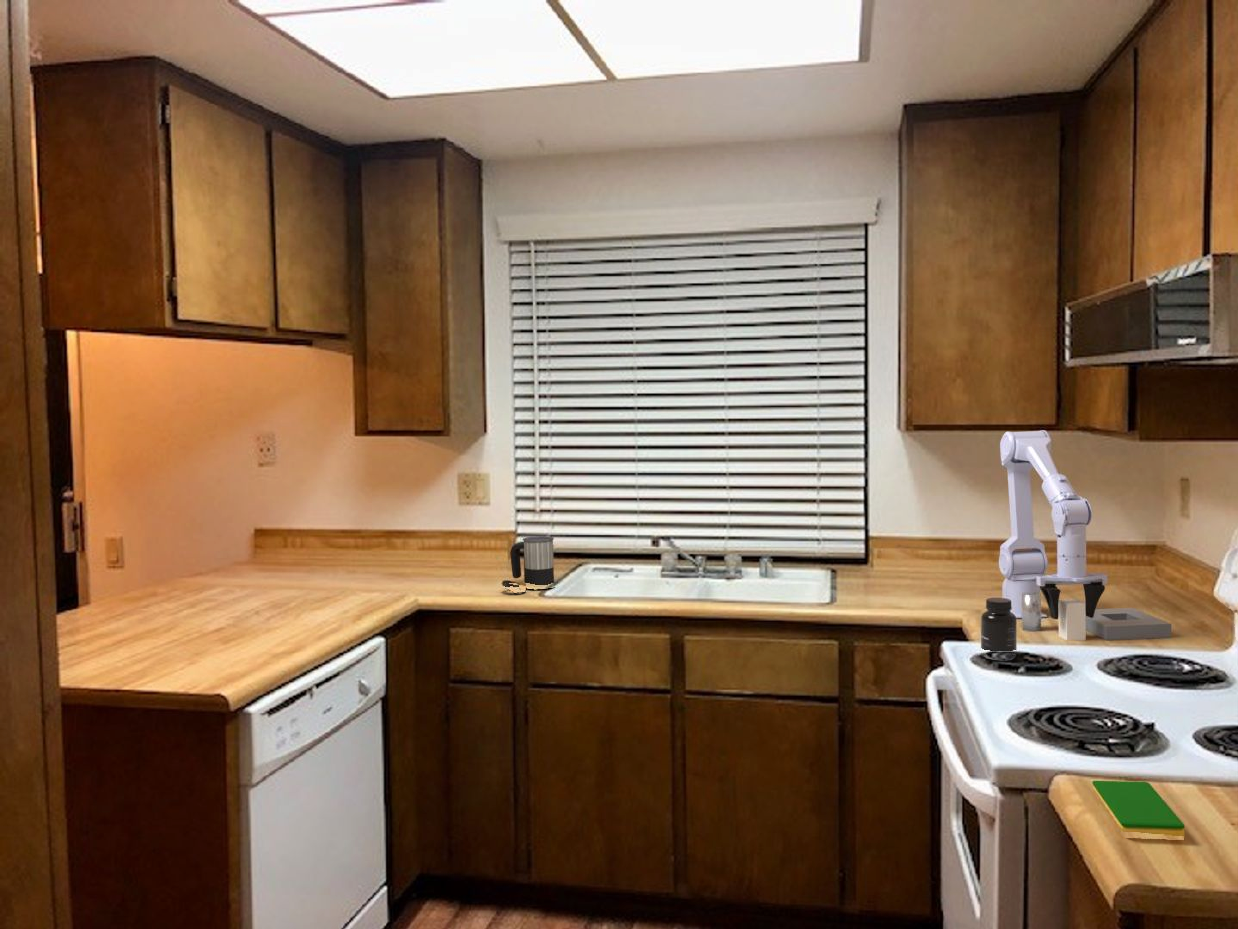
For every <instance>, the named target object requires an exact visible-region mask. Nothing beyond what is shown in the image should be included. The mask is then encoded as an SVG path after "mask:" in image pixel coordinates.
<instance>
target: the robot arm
mask: <svg viewBox="0 0 1238 929" xmlns="http://www.w3.org/2000/svg"><path fill="white" fill-rule="evenodd" d="M999 450H1000V461H1001V466H1002V467H1004V468H1006V469H1007V471H1006V472H1007V482H1008V483H1007V487H1008V502H1009V520H1010V533H1011V534H1010V535H1011V536H1010V537H1009V538H1008V539H1007V540H1006V541H1004V542H1003V543H1002V544H1001V545H1000V547H999V557H998V567H999V571H1000V573H1001V574H1002V575H1003V577H1004V578H1005V579H1004V580H1003V582H1002V585H1001V586H1002V587H1001V588H1002V589H1001V591H1002V592H1001V595H1002V597H1001V598H1006V599H1010V600H1011V607H1012V610H1010V612H1011V613H1013V614H1014V615H1015V616H1016V619H1022V593H1028V592H1031V593H1039V594H1041V593H1042V595H1043V598H1045V601H1046V603H1047V606H1048V607H1047V608H1048V610H1049V615H1050V618H1052V619H1053V620H1059V600H1060V595H1061V589H1059V588H1058V586H1064V585H1068V586H1069V585H1082V586H1083V591H1084V600H1085V602H1084V603H1085V612H1086V616H1087V617H1090V618H1093V617H1094V613H1095V609H1097V605H1098V603H1099V600H1100V598H1101V596H1102V595H1103V593H1104V592H1105V591H1106V590H1105V589H1106V588H1105V587H1106V586H1105V584H1106V585H1108V574H1106V573H1101V572H1100V573H1099V572H1098V573H1092V572H1091V573H1089V572H1088V573H1087V526H1088V525H1090V523H1091V521H1092V515H1093V511H1092V507H1091V504H1090V502H1089V500H1088V499H1087V498H1083V497H1082V496H1080V495H1078V494H1077V492H1076V491H1075V488H1074V487H1073V485H1072V484H1071V482H1070V481H1069V479H1068V477H1067V476H1066V475H1064V474H1061V473H1059V471H1058V468H1057V466H1056V464H1055V461H1054V459H1053V456H1052V454H1051V451H1052V439H1051V436H1050V434H1049V433H1048V431H1047V430H1046V429H1045V430H1043V429H1042V430H1041V429H1040V430H1032V431H1028V430H1027V431H1006V432H1005V433H1004V434H1002V437H1001V440H1000V442H999ZM1032 469H1035V471H1036V472H1037V474H1038V475H1039V477H1040V478H1041V480H1042V481H1043V482H1042V484H1041V490H1042V492H1043V493H1044V496H1045V497H1046V499H1047V501H1048V502H1049V505H1050V507H1051V508H1052V510H1051V520H1052V523H1053V527H1054V528H1053V531H1054V534H1056V552H1057V553H1056V557H1057V558H1056V562H1057V564H1056V565H1057V566H1056V572H1057V573H1054V574H1047V571H1048V568H1049V559H1048V555H1047V553H1046V547H1045V544H1044V543H1043V542H1042V541H1040V540H1039V539H1037V538H1036V537H1035V534H1034V533H1035V532H1034V521H1033V520H1034V519H1033V515H1034V514H1033V504H1032V500H1033V499H1032V486H1031V470H1032ZM1022 549H1023V550H1022ZM1024 549H1025V550H1024ZM1046 617H1048V616H1047V614H1045V613H1044V612H1042V611H1041V618H1046Z"/></svg>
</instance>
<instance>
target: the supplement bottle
mask: <svg viewBox="0 0 1238 929" xmlns="http://www.w3.org/2000/svg"><path fill="white" fill-rule="evenodd" d="M985 609H986V610H985V611H984V612H982V614H981V616H980V649H981V648H982V649H984V650H990V651H1013V650H1017V648H1018V646H1017V643H1018V642H1017V641H1018V640H1017V639H1018V637H1017V634H1018V633H1017V632H1018V631H1017V628H1018V627H1017V624H1018V623H1017V622H1018V621H1017V619H1018V618H1016V616H1015V615H1014V614H1013V613H1011V612H1010V610H1012V607H1011V600H1010V599H1006V598H1002V597H988V598H987V599H986V600H985ZM1017 651H1018V650H1017Z"/></svg>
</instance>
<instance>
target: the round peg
mask: <svg viewBox="0 0 1238 929" xmlns="http://www.w3.org/2000/svg"><path fill="white" fill-rule="evenodd" d="M1041 612H1042V594H1041V593H1040V594H1039V593H1031V592H1028V593H1022V618H1021V630H1023V629H1024V630H1023V631H1025V630H1027V631H1026V632H1040V631H1042V617H1041Z"/></svg>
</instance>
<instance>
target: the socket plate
mask: <svg viewBox="0 0 1238 929" xmlns="http://www.w3.org/2000/svg"><path fill="white" fill-rule="evenodd" d="M1085 622H1086V631H1087V632H1089V633H1091V634H1092V635H1095V636H1096V637H1098V638H1101V639H1103V640H1105V641H1120V640H1142V639H1143V640H1147V639H1166V638H1167V639H1168V638H1172V623H1171V622H1168V621H1166V620H1163V619H1161V618H1159V617H1155V616H1153V615H1151V614H1149V613H1146V612H1144V611H1141V610H1139V609H1136V608H1134V607H1119V608H1117V607H1116V608H1099V609H1097V608H1096V609H1095V613H1094V617H1093V618H1090V617H1087V616H1086V612H1085Z"/></svg>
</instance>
